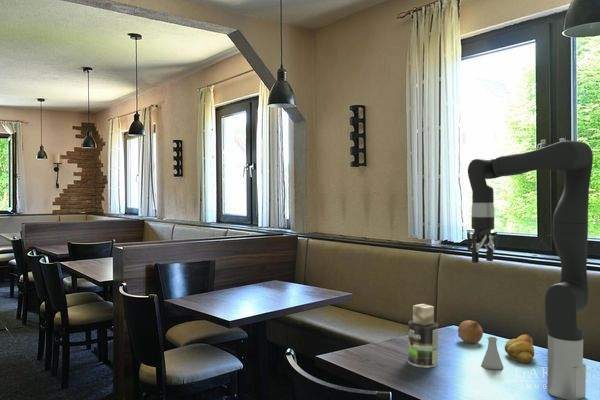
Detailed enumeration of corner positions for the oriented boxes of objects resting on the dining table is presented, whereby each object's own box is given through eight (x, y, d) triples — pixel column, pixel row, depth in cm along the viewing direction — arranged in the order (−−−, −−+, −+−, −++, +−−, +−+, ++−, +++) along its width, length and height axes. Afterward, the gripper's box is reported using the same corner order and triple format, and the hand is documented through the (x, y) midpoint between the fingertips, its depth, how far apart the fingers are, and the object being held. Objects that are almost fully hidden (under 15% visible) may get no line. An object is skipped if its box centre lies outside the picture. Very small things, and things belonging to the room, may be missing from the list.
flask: (505, 371, 164) (505, 341, 164) (482, 369, 166) (483, 340, 166) (501, 363, 171) (501, 335, 171) (479, 362, 173) (479, 334, 173)
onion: (478, 352, 192) (486, 333, 188) (454, 344, 195) (462, 324, 190) (478, 337, 201) (486, 318, 196) (455, 329, 203) (462, 311, 198)
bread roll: (537, 366, 169) (538, 343, 169) (507, 363, 172) (507, 340, 172) (531, 354, 182) (531, 333, 182) (503, 352, 184) (503, 330, 184)
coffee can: (420, 369, 165) (421, 328, 165) (401, 360, 174) (402, 320, 174) (444, 365, 169) (444, 324, 169) (424, 356, 179) (425, 317, 179)
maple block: (433, 323, 171) (433, 306, 171) (423, 325, 168) (424, 308, 168) (422, 320, 175) (422, 303, 175) (412, 322, 172) (413, 305, 172)
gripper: (480, 216, 165) (480, 264, 165) (504, 215, 173) (503, 261, 173) (461, 215, 171) (461, 262, 171) (485, 215, 179) (485, 259, 179)
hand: (482, 261), depth 172 cm, fingers open, 8 cm apart
